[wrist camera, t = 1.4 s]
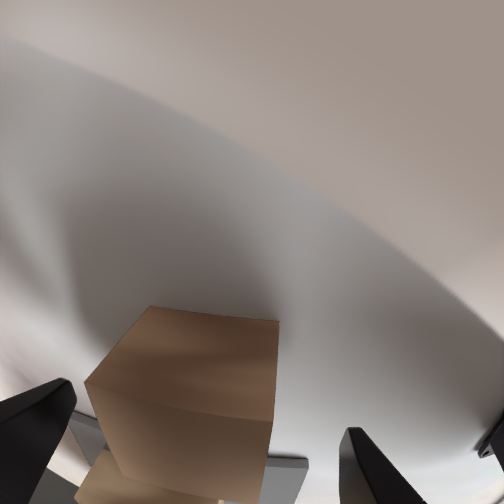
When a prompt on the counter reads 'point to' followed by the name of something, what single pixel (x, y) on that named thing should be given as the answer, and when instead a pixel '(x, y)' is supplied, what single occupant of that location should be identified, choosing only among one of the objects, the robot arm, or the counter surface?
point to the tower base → (127, 488)
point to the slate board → (271, 500)
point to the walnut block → (190, 402)
